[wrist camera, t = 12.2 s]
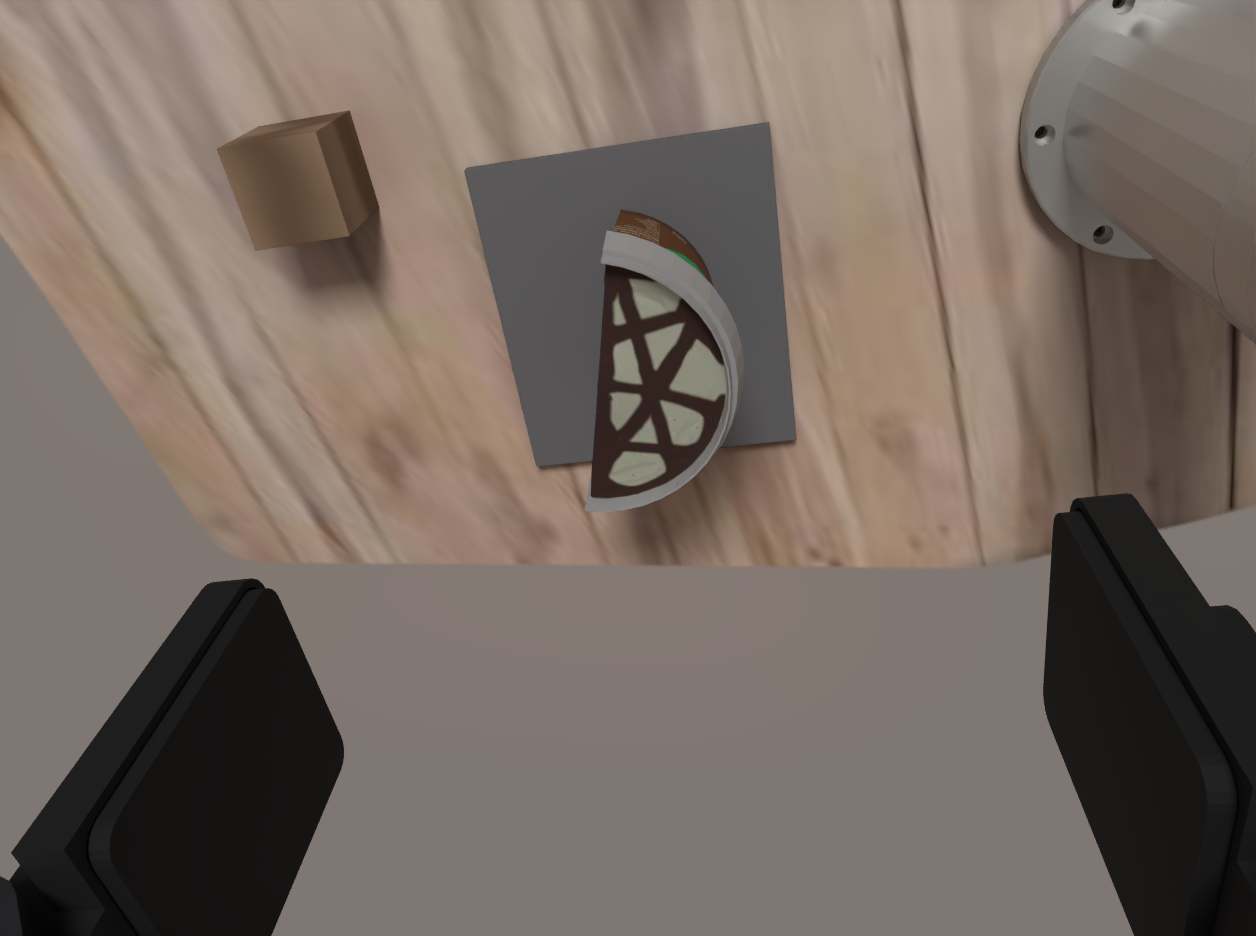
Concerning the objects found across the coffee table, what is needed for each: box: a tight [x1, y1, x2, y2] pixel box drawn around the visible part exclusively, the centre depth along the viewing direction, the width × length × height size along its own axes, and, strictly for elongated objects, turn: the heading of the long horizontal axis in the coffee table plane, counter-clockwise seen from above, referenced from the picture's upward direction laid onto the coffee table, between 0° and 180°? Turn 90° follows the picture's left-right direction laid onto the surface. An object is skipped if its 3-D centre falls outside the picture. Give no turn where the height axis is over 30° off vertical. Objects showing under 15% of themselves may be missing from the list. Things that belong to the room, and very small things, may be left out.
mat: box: [464, 122, 796, 466], centre depth 48 cm, size 14×16×1 cm
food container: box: [585, 210, 745, 512], centre depth 43 cm, size 12×6×10 cm, turn 176°
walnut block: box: [217, 110, 379, 251], centre depth 44 cm, size 4×4×4 cm
